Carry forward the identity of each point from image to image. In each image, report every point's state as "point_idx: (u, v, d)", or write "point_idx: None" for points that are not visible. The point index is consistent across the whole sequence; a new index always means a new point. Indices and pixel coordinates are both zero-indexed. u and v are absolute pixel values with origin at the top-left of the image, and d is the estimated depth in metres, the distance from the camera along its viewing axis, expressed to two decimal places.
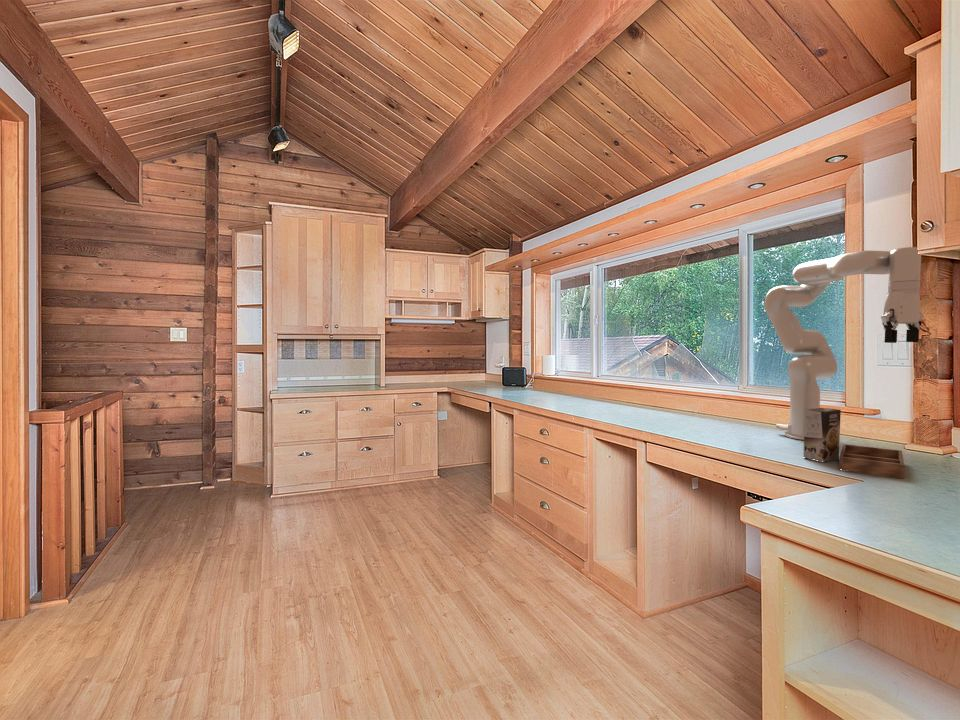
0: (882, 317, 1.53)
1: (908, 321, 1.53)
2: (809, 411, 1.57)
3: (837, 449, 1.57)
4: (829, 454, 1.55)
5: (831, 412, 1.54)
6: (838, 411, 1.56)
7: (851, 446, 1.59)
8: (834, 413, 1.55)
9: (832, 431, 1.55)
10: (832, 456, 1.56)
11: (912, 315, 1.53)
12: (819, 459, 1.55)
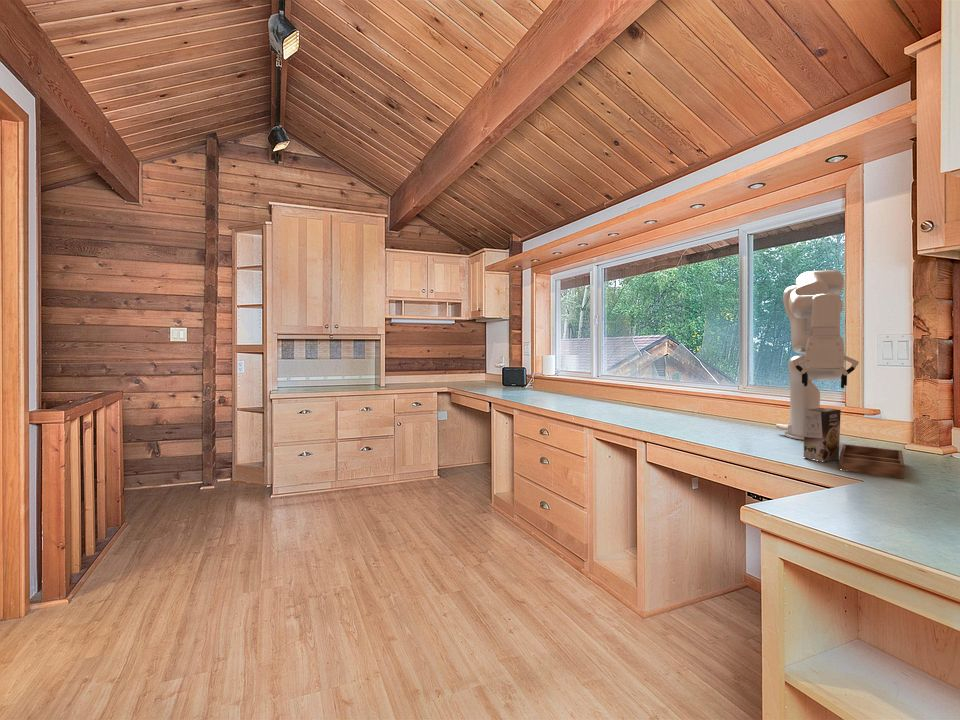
0: (858, 363, 1.51)
1: None
2: (809, 411, 1.57)
3: (837, 449, 1.57)
4: (829, 454, 1.55)
5: (831, 412, 1.54)
6: (838, 411, 1.56)
7: (851, 446, 1.59)
8: (834, 413, 1.55)
9: (832, 431, 1.55)
10: (832, 456, 1.56)
11: None
12: (819, 459, 1.55)
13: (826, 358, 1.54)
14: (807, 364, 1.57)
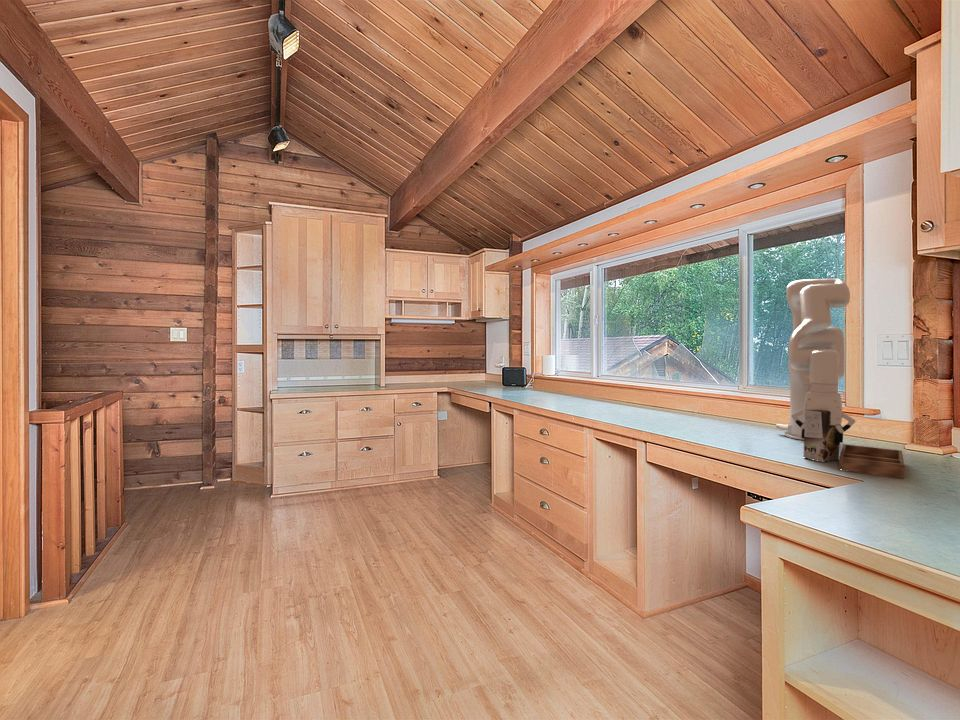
0: (854, 421, 1.52)
1: None
2: (809, 411, 1.57)
3: (837, 449, 1.57)
4: (829, 454, 1.55)
5: None
6: None
7: (851, 446, 1.59)
8: None
9: (832, 431, 1.55)
10: (832, 456, 1.56)
11: None
12: (819, 459, 1.55)
13: None
14: None
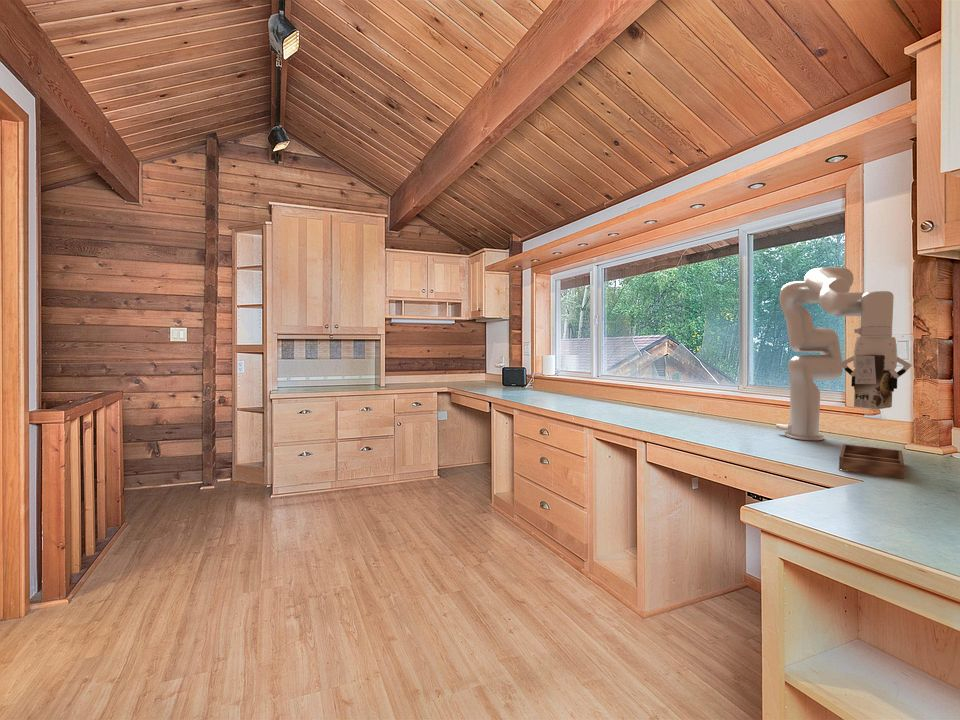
0: (910, 365, 1.44)
1: None
2: (861, 356, 1.48)
3: (890, 396, 1.49)
4: (883, 401, 1.47)
5: None
6: None
7: (851, 446, 1.59)
8: None
9: (886, 377, 1.46)
10: (885, 403, 1.47)
11: None
12: (872, 406, 1.46)
13: None
14: None
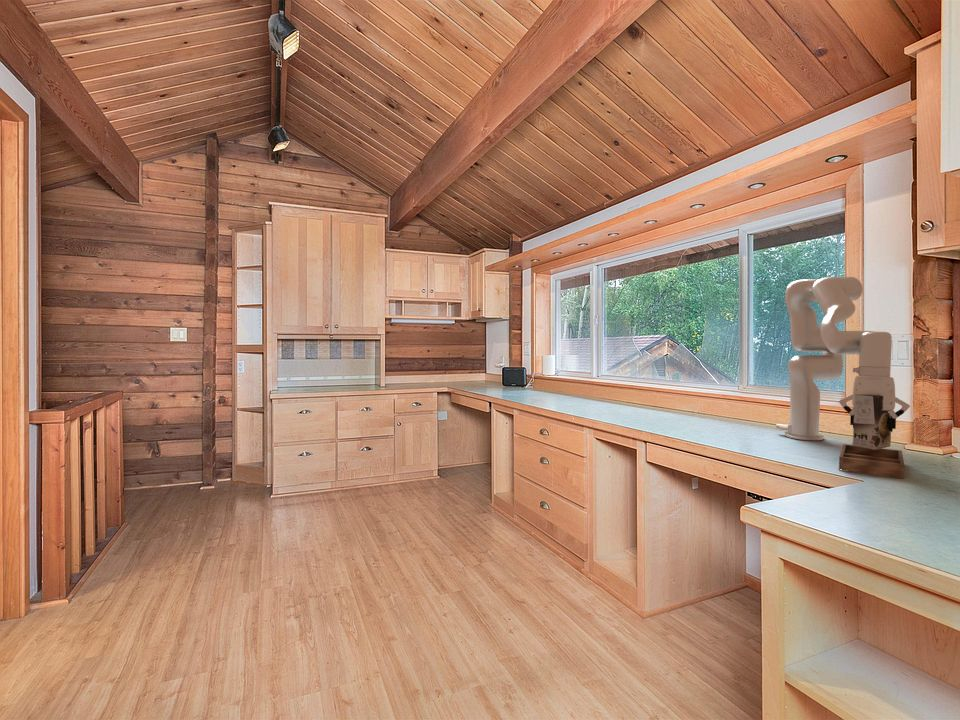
0: (909, 406, 1.45)
1: None
2: (859, 396, 1.49)
3: (889, 436, 1.49)
4: (881, 441, 1.47)
5: None
6: None
7: (851, 446, 1.59)
8: None
9: (884, 417, 1.47)
10: (884, 443, 1.48)
11: None
12: (871, 446, 1.47)
13: None
14: None
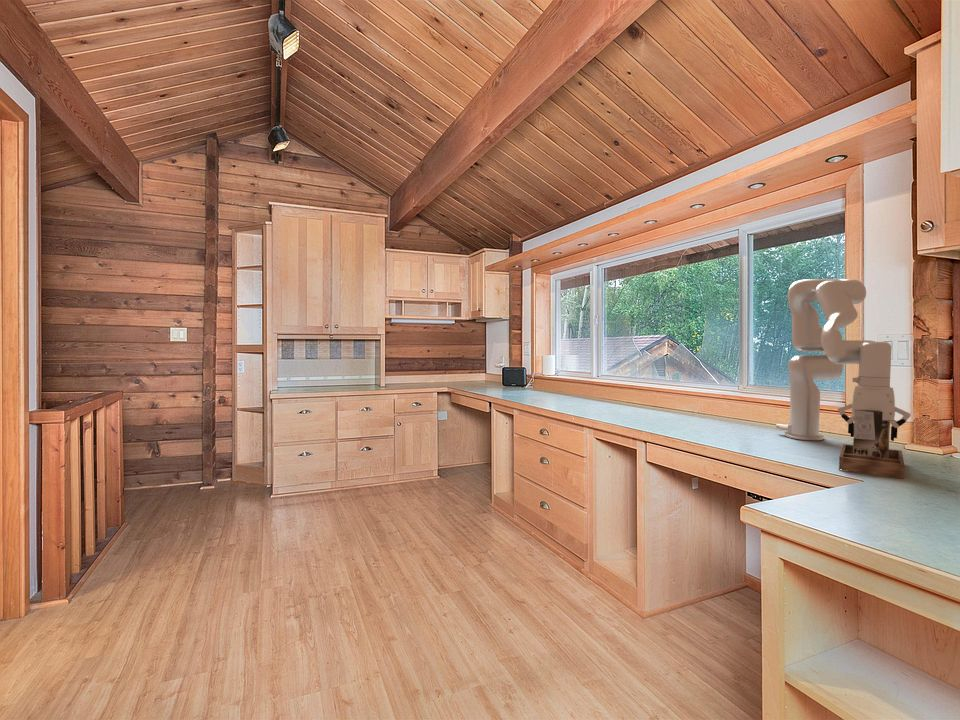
0: (910, 415, 1.45)
1: None
2: (860, 411, 1.49)
3: (887, 451, 1.50)
4: (881, 456, 1.48)
5: None
6: None
7: (851, 446, 1.59)
8: None
9: (884, 432, 1.48)
10: None
11: None
12: None
13: (875, 409, 1.48)
14: (854, 414, 1.51)
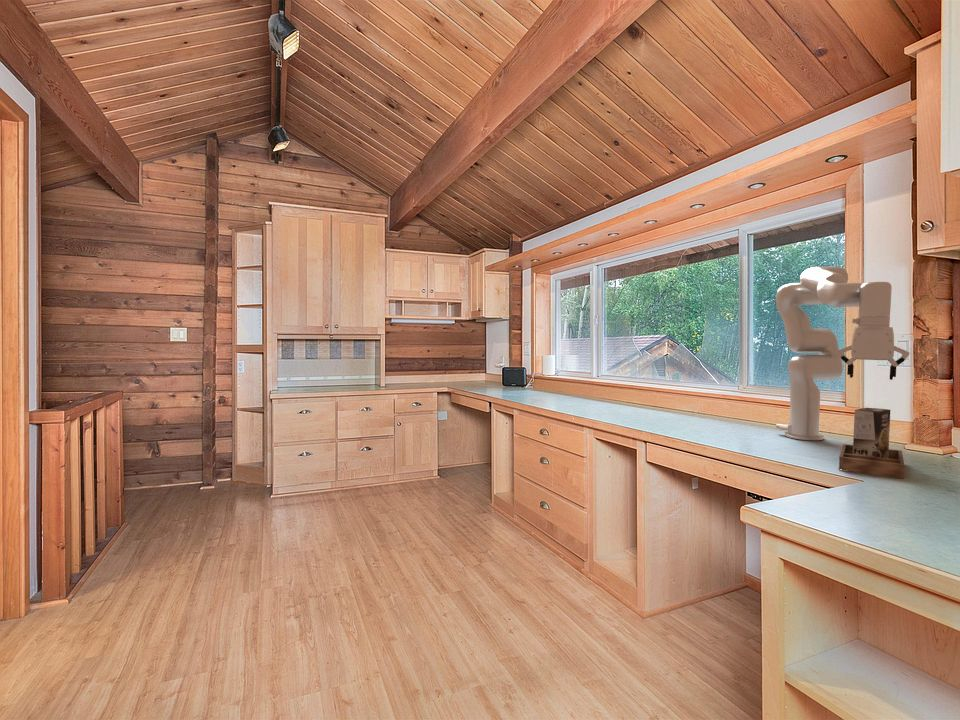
0: (909, 353, 1.46)
1: None
2: (859, 411, 1.49)
3: (887, 451, 1.50)
4: (881, 456, 1.48)
5: (883, 412, 1.47)
6: (888, 411, 1.49)
7: (851, 446, 1.59)
8: (885, 413, 1.48)
9: (883, 432, 1.48)
10: None
11: None
12: None
13: (875, 349, 1.49)
14: (854, 355, 1.52)
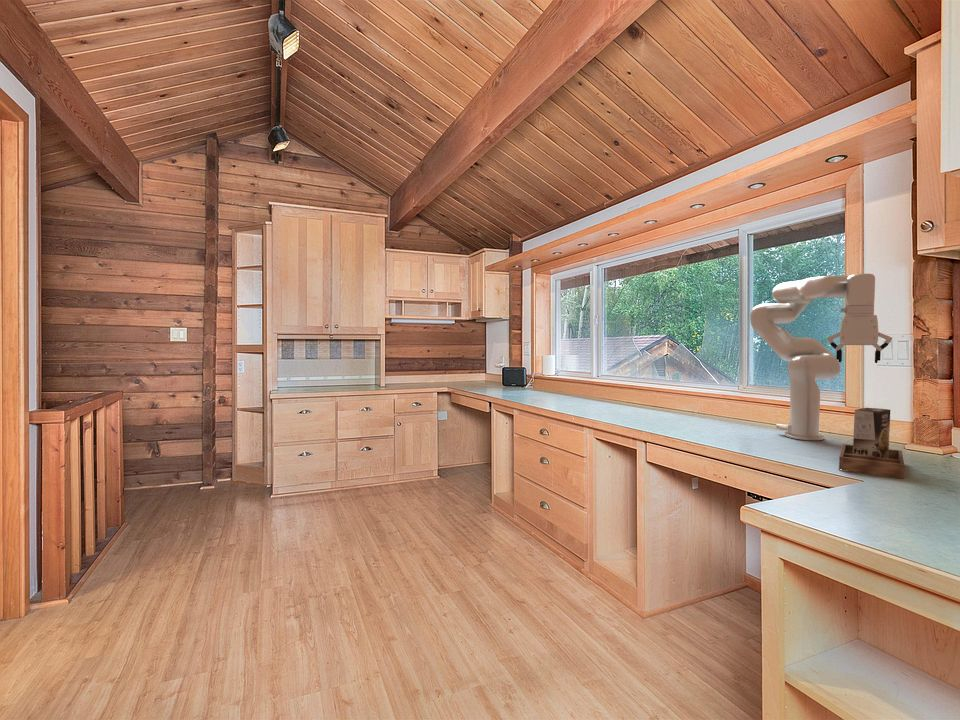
0: None
1: None
2: (859, 411, 1.49)
3: (887, 451, 1.50)
4: (881, 456, 1.48)
5: (883, 412, 1.47)
6: (888, 411, 1.49)
7: (851, 446, 1.59)
8: (885, 413, 1.48)
9: (883, 432, 1.48)
10: None
11: None
12: None
13: (861, 335, 1.62)
14: (842, 341, 1.66)
